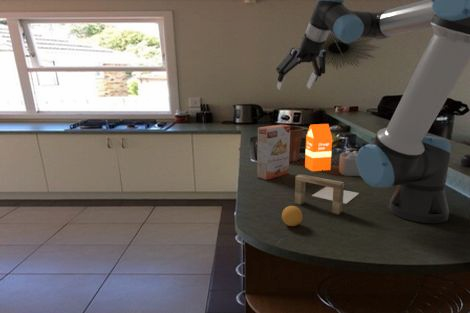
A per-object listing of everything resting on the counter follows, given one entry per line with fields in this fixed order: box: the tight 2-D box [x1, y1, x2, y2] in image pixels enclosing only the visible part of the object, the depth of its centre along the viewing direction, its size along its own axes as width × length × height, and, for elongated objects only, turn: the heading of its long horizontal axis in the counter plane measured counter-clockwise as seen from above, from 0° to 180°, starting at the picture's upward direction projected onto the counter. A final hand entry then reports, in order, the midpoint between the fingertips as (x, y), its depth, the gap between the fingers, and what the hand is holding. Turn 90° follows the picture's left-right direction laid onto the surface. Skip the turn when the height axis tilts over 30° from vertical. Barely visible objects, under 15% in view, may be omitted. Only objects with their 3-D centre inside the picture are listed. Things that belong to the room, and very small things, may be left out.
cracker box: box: [256, 124, 291, 181], centre depth 130 cm, size 14×6×21 cm, turn 131°
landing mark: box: [311, 186, 360, 205], centre depth 109 cm, size 12×12×1 cm
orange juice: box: [304, 123, 333, 172], centre depth 140 cm, size 8×9×20 cm
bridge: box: [294, 173, 345, 215], centre depth 97 cm, size 3×14×9 cm, turn 50°
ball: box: [281, 205, 303, 227], centre depth 86 cm, size 6×6×6 cm
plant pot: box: [289, 125, 305, 163], centre depth 158 cm, size 16×16×16 cm
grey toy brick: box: [338, 150, 361, 177], centre depth 136 cm, size 10×13×9 cm
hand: (294, 88), depth 123 cm, fingers open, 13 cm apart
